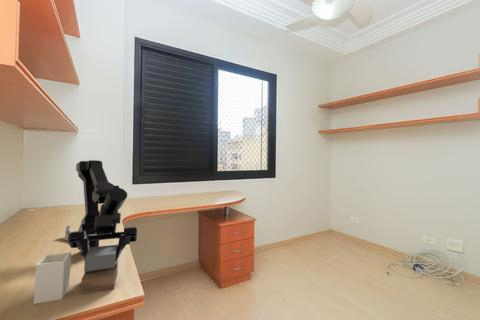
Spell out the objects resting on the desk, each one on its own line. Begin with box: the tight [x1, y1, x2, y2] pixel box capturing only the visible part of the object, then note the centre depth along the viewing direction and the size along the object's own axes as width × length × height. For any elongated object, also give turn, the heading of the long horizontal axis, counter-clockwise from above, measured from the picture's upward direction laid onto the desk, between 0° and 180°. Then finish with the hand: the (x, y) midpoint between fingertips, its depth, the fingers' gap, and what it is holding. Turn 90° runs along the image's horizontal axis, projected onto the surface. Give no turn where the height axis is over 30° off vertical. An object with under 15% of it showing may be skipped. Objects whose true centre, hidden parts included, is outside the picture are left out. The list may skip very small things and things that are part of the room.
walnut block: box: [80, 259, 119, 296], centre depth 66 cm, size 10×8×4 cm
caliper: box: [64, 224, 74, 239], centre depth 99 cm, size 20×1×6 cm, turn 55°
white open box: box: [33, 252, 72, 305], centre depth 59 cm, size 6×6×10 cm
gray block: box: [83, 244, 118, 273], centre depth 66 cm, size 8×7×4 cm
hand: (101, 263), depth 65 cm, fingers closed on gray block, 7 cm apart
